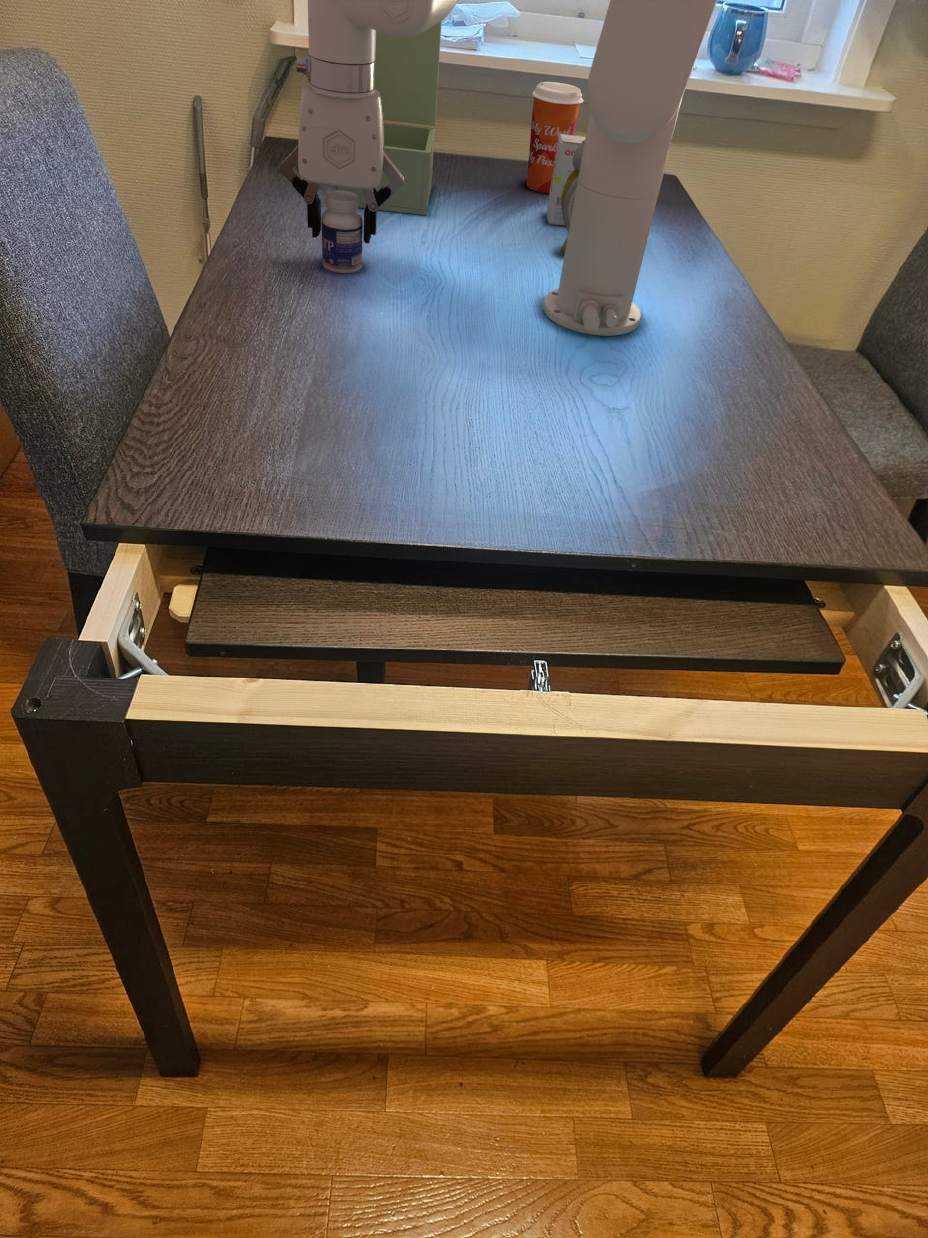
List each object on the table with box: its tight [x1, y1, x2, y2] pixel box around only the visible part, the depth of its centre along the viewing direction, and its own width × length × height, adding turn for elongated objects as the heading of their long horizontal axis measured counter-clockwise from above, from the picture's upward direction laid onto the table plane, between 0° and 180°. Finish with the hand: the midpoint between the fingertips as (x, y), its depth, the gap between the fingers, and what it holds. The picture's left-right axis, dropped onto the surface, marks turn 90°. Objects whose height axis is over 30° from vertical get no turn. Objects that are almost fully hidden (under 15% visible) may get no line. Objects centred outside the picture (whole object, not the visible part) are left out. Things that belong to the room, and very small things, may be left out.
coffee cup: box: [526, 81, 584, 194], centre depth 141 cm, size 8×8×15 cm
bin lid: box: [375, 20, 443, 127], centre depth 129 cm, size 14×14×6 cm
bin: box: [336, 121, 436, 216], centre depth 131 cm, size 14×14×9 cm
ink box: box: [546, 134, 586, 227], centre depth 130 cm, size 9×5×12 cm, turn 89°
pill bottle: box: [321, 190, 364, 274], centre depth 110 cm, size 5×5×9 cm
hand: (342, 235), depth 110 cm, fingers open, 6 cm apart
